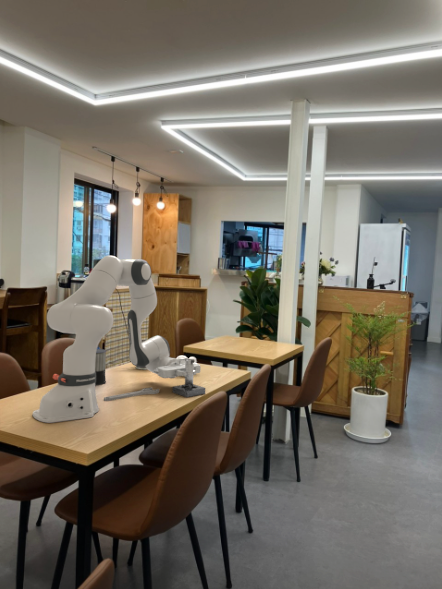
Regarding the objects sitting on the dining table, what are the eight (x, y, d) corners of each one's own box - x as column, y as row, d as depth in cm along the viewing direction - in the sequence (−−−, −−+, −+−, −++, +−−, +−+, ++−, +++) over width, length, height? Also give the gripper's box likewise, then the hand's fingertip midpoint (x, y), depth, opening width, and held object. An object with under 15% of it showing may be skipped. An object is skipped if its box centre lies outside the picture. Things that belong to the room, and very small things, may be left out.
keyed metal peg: (189, 391, 194) (190, 360, 194) (181, 389, 198) (182, 358, 197) (195, 390, 197) (196, 359, 196) (188, 387, 200) (189, 357, 200)
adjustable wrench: (105, 402, 181) (105, 398, 181) (98, 399, 186) (98, 394, 186) (161, 393, 197) (161, 389, 196) (153, 390, 202) (153, 386, 202)
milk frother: (106, 385, 207) (107, 352, 206) (69, 386, 202) (69, 352, 202) (104, 377, 221) (105, 347, 220) (69, 379, 216) (70, 347, 215)
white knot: (198, 376, 229) (199, 358, 228) (174, 377, 226) (175, 359, 226) (194, 371, 240) (195, 354, 239) (171, 372, 237) (172, 355, 237)
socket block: (186, 397, 190) (187, 391, 190) (172, 392, 198) (172, 386, 198) (205, 393, 197) (205, 387, 197) (190, 388, 204) (190, 383, 204)
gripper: (151, 363, 199) (171, 369, 189) (188, 358, 213) (208, 363, 203) (151, 378, 200) (170, 384, 190) (188, 372, 214) (208, 377, 203)
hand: (190, 373), depth 196 cm, fingers closed on keyed metal peg, 3 cm apart
